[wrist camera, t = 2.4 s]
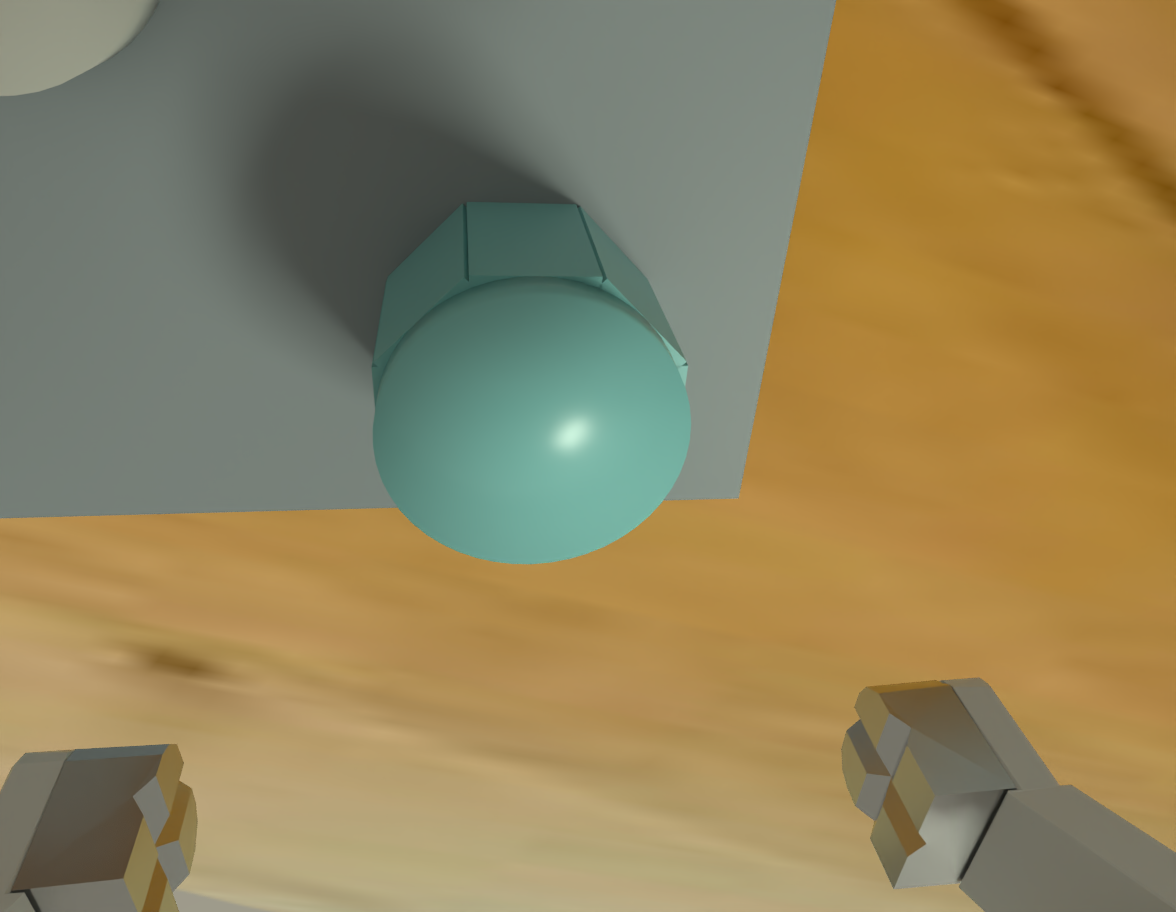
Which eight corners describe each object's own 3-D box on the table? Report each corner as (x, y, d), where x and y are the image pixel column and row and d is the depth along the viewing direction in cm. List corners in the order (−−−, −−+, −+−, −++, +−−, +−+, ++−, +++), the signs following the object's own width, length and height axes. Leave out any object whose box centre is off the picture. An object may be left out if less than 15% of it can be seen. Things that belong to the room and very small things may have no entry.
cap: (656, 205, 19) (711, 296, 15) (632, 434, 22) (672, 558, 18) (380, 200, 18) (359, 293, 14) (397, 438, 21) (384, 569, 17)
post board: (889, -414, 14) (1272, -669, 8) (726, 473, 24) (831, 703, 18) (-692, -618, 11) (-2383, -1342, 5) (-138, 492, 21) (-414, 780, 14)
